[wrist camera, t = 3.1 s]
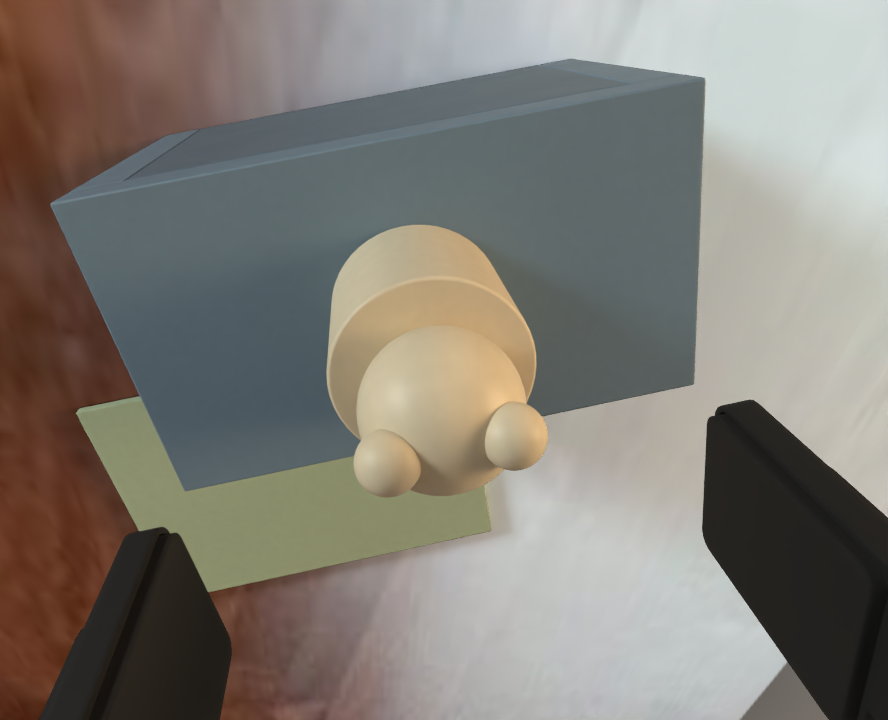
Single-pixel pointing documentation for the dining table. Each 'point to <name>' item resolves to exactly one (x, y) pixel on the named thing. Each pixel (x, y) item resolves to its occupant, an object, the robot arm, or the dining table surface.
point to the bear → (431, 365)
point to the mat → (268, 507)
